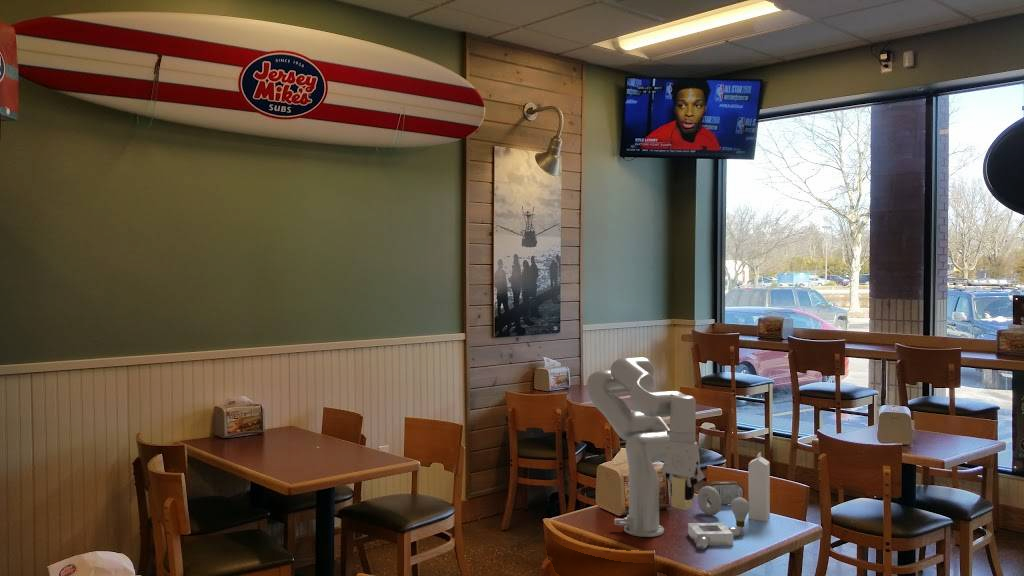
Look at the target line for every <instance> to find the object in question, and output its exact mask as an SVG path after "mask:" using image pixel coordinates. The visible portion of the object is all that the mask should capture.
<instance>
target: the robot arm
mask: <svg viewBox="0 0 1024 576" xmlns="http://www.w3.org/2000/svg"><path fill="white" fill-rule="evenodd" d="M654 374H655V371H654V365H653V363H652V362H651V361H650V360H649V358H646V357H642V356H641V357H640V356H637V357H635V356H634V357H622V358H618V359H616V360H615V361H613V363H612V364H611V366H610V368H609V369H603V370H601V369H600V370H598V371H595V372H593V373H590V375H589V376H588V378H587V381H586V386H587V387H586V388H587V389H586V390H587V392H588V394H587V395H588V396H589V399H590V401H591V402H592V403H593V405H594V406H595V408H596V409H597V410H598V411H599V412H600V413H601V414H603V416H604V417H605V419H607V422H608V424H610V426H611V427H612V429H613V430H614V432H616V434H617V436H618V437H619V438H621V439H622V440H623V441H626V442H625V453H626V459H627V466H628V514H627V515H626V517H624V518H614V520H613V521H614V522H613V523H614V525H617V526H620V527H624V528H623V530H624V533H626V534H629V535H631V536H635V537H642V538H644V537H645V538H651V537H652V538H653V537H658V536H659V537H660V536H662V535H663V534H664V533H665V528H664V526H662V525H660V486H659V485H660V484H659V483H660V479H659V477H660V476H659V473H658V472H657V470H656V468H655V467H654V463H658V462H663V465H662V467H661V468H660V471H661V472H662V473H663V475H665V476H666V477H665V478H666V479H667V480H668V483H669V484H670V491H669V492H670V497H671V498H672V477H673V476H676V475H677V476H682V477H686V479H687V485H688V486H687V487H686V500H690V499H692V500H693V499H694V496H695V486H697V484H698V483H699V482H700V481H702V480H704V479H705V475H704V473H703V472H702V470H701V461H700V460H701V457H700V450H699V445H698V442H697V441H696V426H697V425H696V420H697V417H696V414H697V413H696V412H697V411H696V409H697V407H696V406H697V402H696V398H695V397H694V396H693V395H688V394H685V393H682V392H680V391H677V390H668V391H664V390H663V391H654V392H652V390H653V388H654V384H655V383H654V382H655V381H654ZM616 394H617V395H618V394H629V398H630V401H631V404H632V406H633V407H634V408H635V409H636V410H633V409H632V408H631V407H629V405H628V404H627V403H626V401H624V400H623V399H622V398H620V396H617V395H616ZM661 417H669V426H668V425H667V424H666V422H665V421H664V420H663V418H661Z"/></svg>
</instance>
